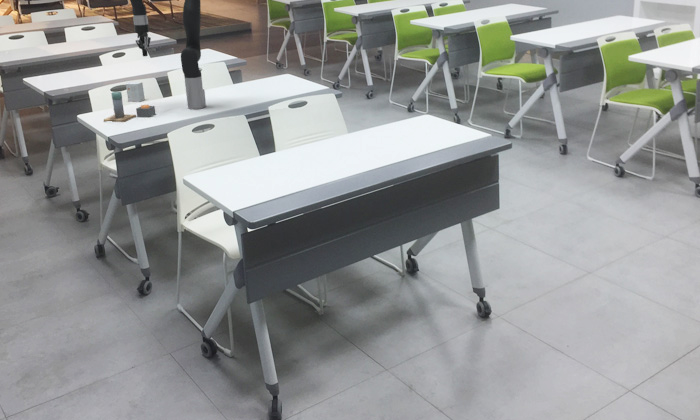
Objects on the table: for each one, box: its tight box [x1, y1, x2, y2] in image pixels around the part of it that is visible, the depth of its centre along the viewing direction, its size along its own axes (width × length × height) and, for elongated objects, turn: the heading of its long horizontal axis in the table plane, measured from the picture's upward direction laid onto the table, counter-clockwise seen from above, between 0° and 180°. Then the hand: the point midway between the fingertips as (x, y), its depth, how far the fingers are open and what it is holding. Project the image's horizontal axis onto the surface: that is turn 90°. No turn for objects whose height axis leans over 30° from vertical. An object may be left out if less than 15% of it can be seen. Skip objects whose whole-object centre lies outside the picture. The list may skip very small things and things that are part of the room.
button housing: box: [136, 105, 156, 118], centre depth 392 cm, size 7×7×4 cm
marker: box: [111, 91, 125, 118], centre depth 384 cm, size 5×5×13 cm
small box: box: [125, 81, 146, 103], centre depth 429 cm, size 8×6×10 cm
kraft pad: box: [103, 114, 137, 123], centre depth 387 cm, size 12×12×1 cm
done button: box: [140, 104, 150, 108], centre depth 391 cm, size 4×4×3 cm
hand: (145, 56), depth 399 cm, fingers closed
